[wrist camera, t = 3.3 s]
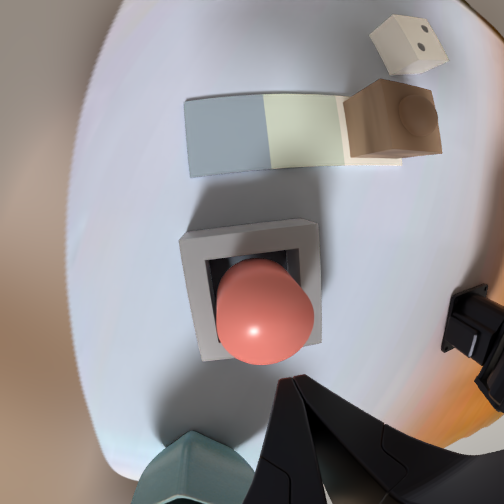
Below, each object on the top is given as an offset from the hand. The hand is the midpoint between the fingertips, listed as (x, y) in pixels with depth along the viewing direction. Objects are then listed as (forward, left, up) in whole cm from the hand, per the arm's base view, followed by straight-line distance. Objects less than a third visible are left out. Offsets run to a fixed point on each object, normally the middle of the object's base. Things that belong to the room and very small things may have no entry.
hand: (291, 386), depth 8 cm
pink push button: (0, 0, -8) cm, 8 cm away
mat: (-4, -10, -11) cm, 15 cm away
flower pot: (+7, +17, -11) cm, 21 cm away
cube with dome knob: (-9, -10, -10) cm, 17 cm away
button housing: (0, 0, -11) cm, 11 cm away
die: (-14, -17, -11) cm, 25 cm away
